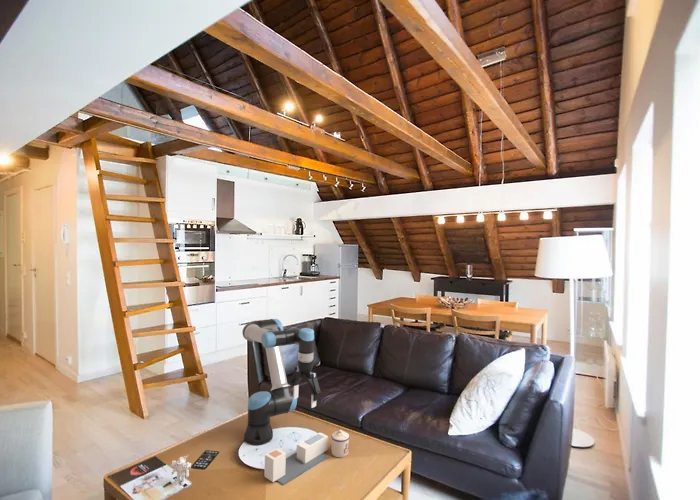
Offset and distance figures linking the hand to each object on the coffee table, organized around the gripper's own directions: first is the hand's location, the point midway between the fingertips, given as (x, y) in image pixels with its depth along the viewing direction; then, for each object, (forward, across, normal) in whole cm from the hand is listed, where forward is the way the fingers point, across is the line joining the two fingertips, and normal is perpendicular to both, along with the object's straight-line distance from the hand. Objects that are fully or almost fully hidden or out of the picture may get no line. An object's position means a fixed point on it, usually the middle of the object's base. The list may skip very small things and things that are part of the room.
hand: (304, 402), depth 190 cm
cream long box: (+26, +4, +2) cm, 26 cm away
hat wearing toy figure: (+27, -20, -52) cm, 62 cm away
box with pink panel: (+25, +5, -21) cm, 33 cm away
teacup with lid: (+27, +11, +16) cm, 33 cm away
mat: (+26, +4, -7) cm, 28 cm away
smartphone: (+27, -29, -36) cm, 54 cm away
